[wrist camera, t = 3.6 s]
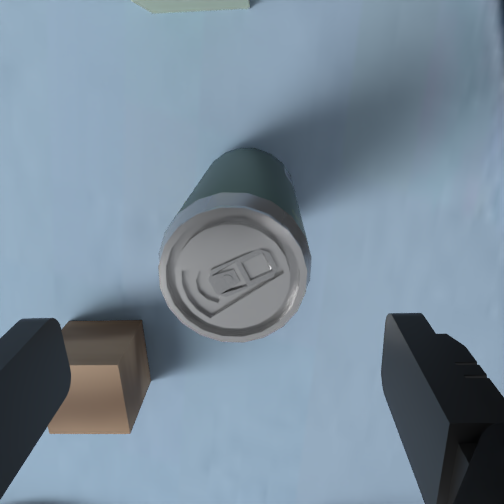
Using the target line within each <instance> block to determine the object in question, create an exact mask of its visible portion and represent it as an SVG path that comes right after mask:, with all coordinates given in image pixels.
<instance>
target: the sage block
mask: <svg viewBox="0 0 504 504" xmlns="http://www.w3.org/2000/svg"><path fill="white" fill-rule="evenodd" d="M131 1H132V2H134V3H136V4H137V5H139V6H141V7H142V8H144V9H146V10H147V11H149V12H151V13H152V14H156V13H175V12H194V11H214V10H233V9H250V0H131Z"/></svg>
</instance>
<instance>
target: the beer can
mask: <svg viewBox="0 0 504 504" xmlns="http://www.w3.org/2000/svg"><path fill="white" fill-rule="evenodd" d="M158 267H159V281H160V289H161V291H162V294H163V296H164V298H165V301H166V303H167V305H168V307H169V309H170V310H171V311H172V312H173V313H174V314H175V315H176V317H177V318H178V319H179V320H180V321H181V322H182V324H184V325H186V326H187V327H189V328H190V329H192V330H193V331H195V332H196V333H198V334H200V335H202V336H205V337H208V338H211V339H214V340H218V341H221V342H247V341H251V340H256V339H260V338H264V337H266V336H268V335H269V334H271V333H273V332H275V331H276V330H278V329H280V328H282V327H283V326H284V325H285V324H286V323H287V322H288V321H289V320H290V319H291V317H292V316H293V315H294V314H295V313H296V312H297V311H298V308H299V306H300V304H301V302H302V299H303V297H304V295H305V292H306V288H307V285H308V283H309V281H310V270H311V254H310V250H309V246H308V242H307V238H306V234H305V230H304V226H303V222H302V218H301V215H300V211H299V207H298V203H297V199H296V195H295V191H294V187H293V183H292V180H291V176H290V174H289V173H288V171H287V170H286V168H285V167H284V165H283V164H282V162H280V161H279V160H278V159H276V158H275V157H274V156H273V155H271V154H270V153H267V152H264V151H261V150H259V149H256V148H239V149H236V150H233V151H229V152H226V153H225V154H223V155H222V156H220V157H219V158H218V159H216V160H215V161H214V162H213V163H212V164H211V166H210V167H209V169H208V170H207V171H206V173H205V174H204V176H203V177H202V179H201V180H200V182H199V183H198V185H197V186H196V187H195V189H194V190H193V192H192V193H191V195H190V196H189V198H188V199H187V201H186V202H185V203H184V205H183V206H182V208H181V209H180V211H179V212H178V214H177V215H176V217H175V218H174V220H173V221H172V222H171V224H170V225H169V227H168V228H167V230H166V231H165V233H164V237H163V240H162V244H161V248H160V251H159V266H158Z"/></svg>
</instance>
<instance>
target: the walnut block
mask: <svg viewBox="0 0 504 504" xmlns="http://www.w3.org/2000/svg"><path fill="white" fill-rule="evenodd" d="M61 331H62V335H63V339H64V344H65V348H66V352H67V357H68V361H69V365H70V370H71V384H70V389H69V392H68V395H67V397H66V398H65V400H64V401H63V403H62V405H61V406H60V408H59V409H58V411H57V412H56V414H55V415H54V417H53V418H52V420H51V422H50V423H49V425H48V429H49V433H50V434H130V433H131V430H132V428H133V425H134V423H135V420H136V418H137V415H138V413H139V410H140V408H141V405H142V403H143V400H144V397H145V395H146V392H147V390H148V387H149V385H150V382H151V378H150V371H149V365H148V358H147V351H146V344H145V337H144V331H143V324H142V320H113V321H69V322H68V323H67V324H66V325H65V326H64V327H63V329H62V330H61Z"/></svg>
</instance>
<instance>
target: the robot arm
mask: <svg viewBox="0 0 504 504" xmlns="http://www.w3.org/2000/svg"><path fill="white" fill-rule="evenodd" d="M381 377H382V386H383V391H384V395H385V398H386V400H387V403H388V406H389V408H390V411H391V414H392V416H393V419H394V422H395V425H396V427H397V430H398V433H399V435H400V438H401V441H402V443H403V446H404V449H405V451H406V454H407V457H408V459H409V462H410V465H411V467H412V470H413V473H414V475H415V478H416V481H417V483H418V486H419V489H420V491H421V494H422V497H423V500H424V502H425V504H504V397H503V396H502V395H501V393H500V392H499V391H498V389H497V388H496V387H495V385H494V384H493V383H492V381H491V380H490V379H489V378H487V375H486V373H485V372H484V371H483V369H482V368H481V367H480V365H477V361H476V360H475V359H474V357H473V356H472V355H471V353H470V352H469V351H468V349H467V348H466V347H465V346H464V345H462V344H461V343H459V342H458V341H456V340H455V339H453V338H452V337H451V336H449V335H448V334H436V333H435V332H434V330H433V329H432V327H431V326H430V324H429V323H428V321H427V320H426V318H425V317H424V316H423V314H421V313H390V314H388V315H387V317H386V322H385V332H384V344H383V355H382V367H381ZM70 384H71V370H70V365H69V361H68V357H67V352H66V348H65V344H64V339H63V335H62V331H61V327H60V324H59V322H58V321H57V320H56V319H54V318H31V319H21V320H19V321H18V322H17V323H16V324H15V325H14V326H13V327H12V328H11V329H10V330H9V331H8V332H7V333H6V334H5V335H3V336H2V337H1V338H0V499H1V498H2V496H3V495H4V493H5V491H6V490H7V488H8V487H9V485H10V484H11V482H12V481H13V479H14V478H15V476H16V474H17V473H18V471H19V470H20V468H21V467H22V465H23V464H24V462H25V460H26V459H27V457H28V456H29V454H30V453H31V451H32V450H33V448H34V446H35V445H36V443H37V442H38V440H39V439H40V437H41V436H42V434H43V432H44V431H45V429H46V428H47V426H48V425H49V423H50V422H51V420H52V418H53V417H54V415H55V414H56V412H57V411H58V409H59V408H60V406H61V405H62V403H63V401H64V400H65V398H66V397H67V395H68V392H69V389H70Z"/></svg>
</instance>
